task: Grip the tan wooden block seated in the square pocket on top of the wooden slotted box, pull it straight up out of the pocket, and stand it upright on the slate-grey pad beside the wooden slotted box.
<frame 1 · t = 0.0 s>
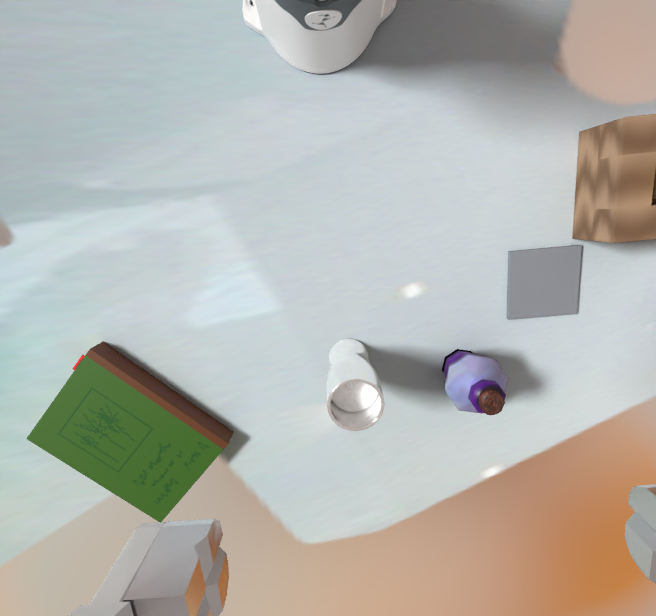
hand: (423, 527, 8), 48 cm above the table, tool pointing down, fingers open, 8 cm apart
wooden slotted box: (627, 182, 52), on the table
potion bottle: (459, 365, 58), on the table
hardcover book: (138, 425, 61), on the table
beer glass: (348, 356, 58), on the table
slate pad: (542, 282, 55), on the table
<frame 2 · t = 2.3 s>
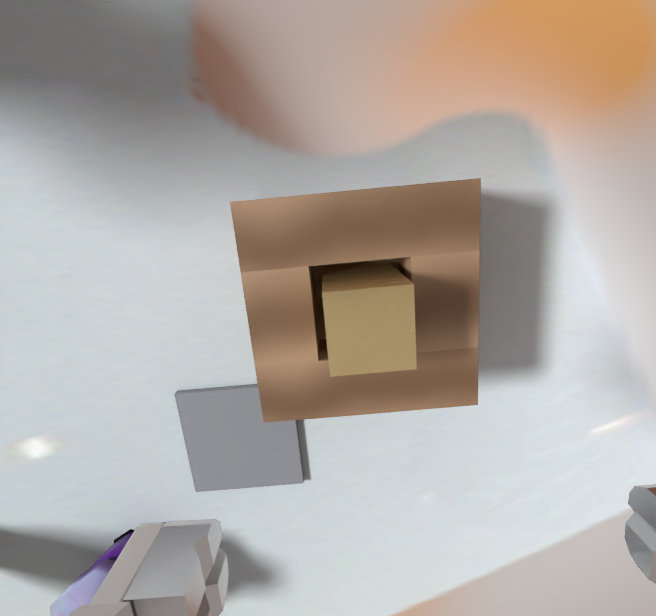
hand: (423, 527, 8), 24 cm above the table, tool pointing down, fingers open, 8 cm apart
wooden slotted box: (353, 284, 31), on the table
potion bottle: (141, 550, 38), on the table
tan wooden block: (357, 295, 27), point 4 cm above the table, touching wooden slotted box
slate pad: (242, 436, 34), on the table
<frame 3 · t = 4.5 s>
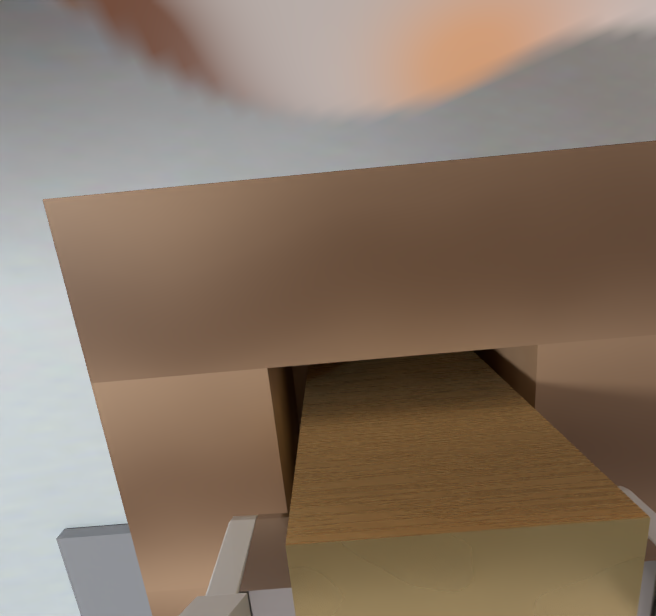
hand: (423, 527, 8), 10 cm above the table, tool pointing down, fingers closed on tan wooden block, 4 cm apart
wooden slotted box: (370, 353, 17), on the table
tan wooden block: (383, 395, 13), point 4 cm above the table, touching gripper, wooden slotted box
slate pad: (180, 598, 20), on the table
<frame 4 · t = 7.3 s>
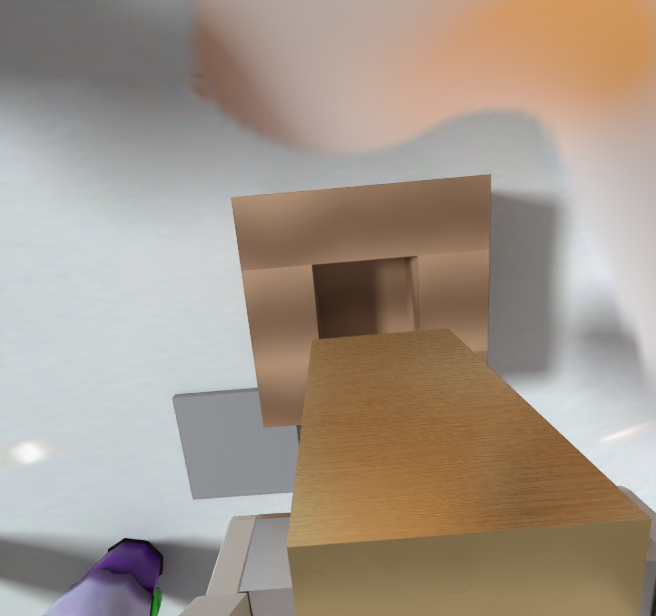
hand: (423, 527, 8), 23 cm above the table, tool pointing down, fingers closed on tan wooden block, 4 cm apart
wooden slotted box: (357, 286, 30), on the table
potion bottle: (136, 559, 36), on the table
tan wooden block: (383, 396, 13), point 17 cm above the table, touching gripper
slate pad: (241, 442, 33), on the table
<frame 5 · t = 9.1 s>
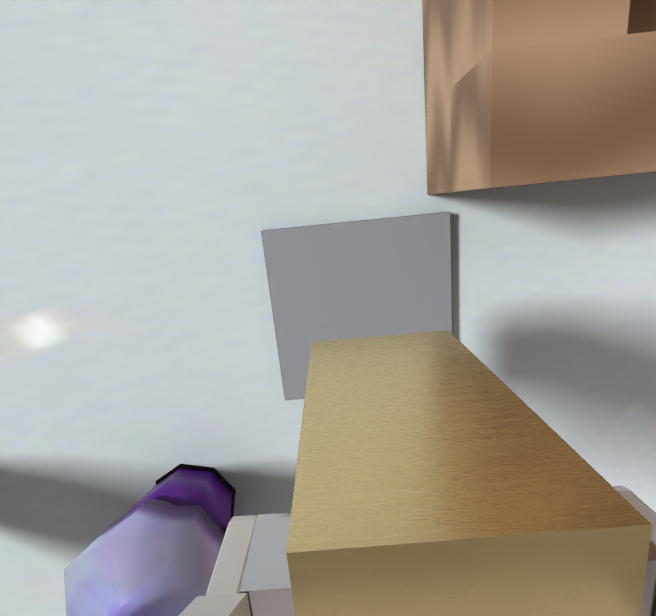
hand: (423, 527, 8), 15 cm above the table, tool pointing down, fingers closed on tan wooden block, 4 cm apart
wooden slotted box: (569, 28, 18), on the table
potion bottle: (196, 496, 25), on the table
tan wooden block: (383, 398, 13), point 9 cm above the table, touching gripper
slate pad: (361, 309, 22), on the table
when the fingers open (8 cm above the table, at t = 10.6 s): tan wooden block drops 1 cm, resting on slate pad.
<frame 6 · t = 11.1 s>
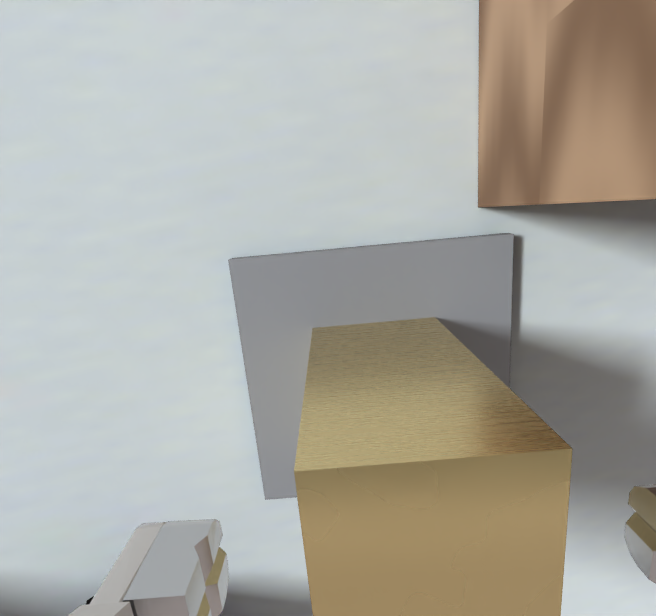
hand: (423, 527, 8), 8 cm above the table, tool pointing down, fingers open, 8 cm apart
tan wooden block: (377, 378, 14), point 1 cm above the table, touching slate pad
slate pad: (376, 372, 15), on the table
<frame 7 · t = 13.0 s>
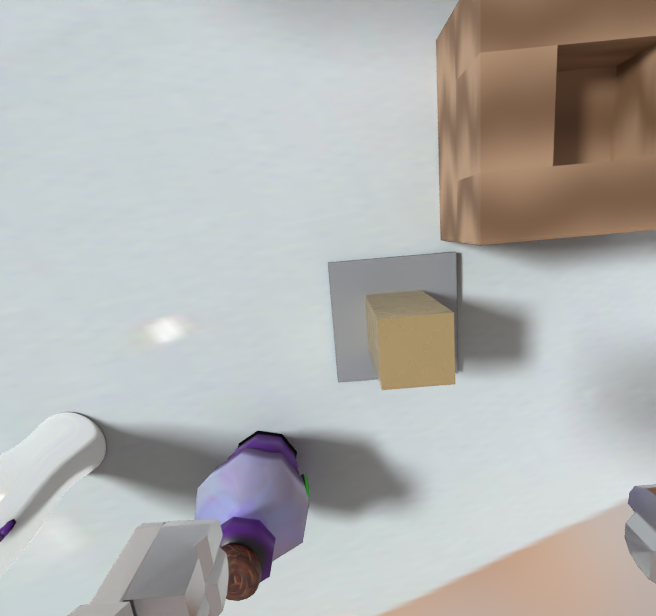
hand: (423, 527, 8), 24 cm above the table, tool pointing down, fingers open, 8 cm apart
wooden slotted box: (532, 136, 28), on the table
potion bottle: (266, 457, 34), on the table
beer glass: (74, 441, 34), on the table
tan wooden block: (394, 319, 30), point 1 cm above the table, touching slate pad
slate pad: (393, 318, 31), on the table
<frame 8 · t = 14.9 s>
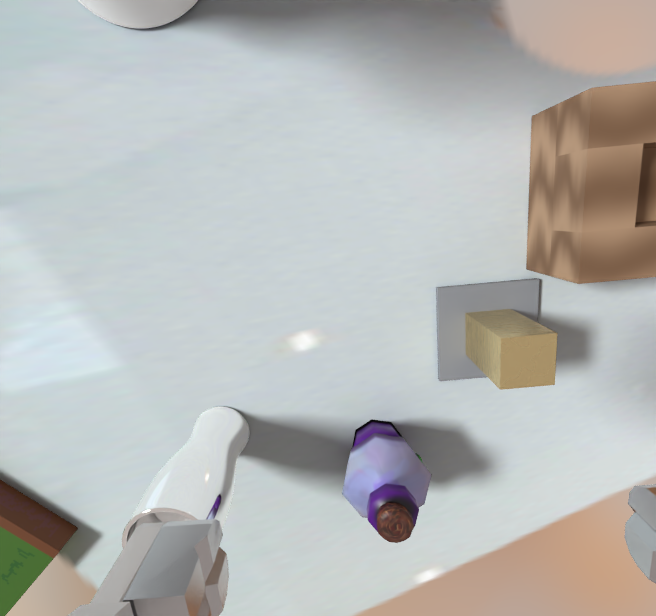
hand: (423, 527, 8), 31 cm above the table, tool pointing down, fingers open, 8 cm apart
wooden slotted box: (603, 189, 36), on the table
potion bottle: (376, 440, 42), on the table
beer glass: (222, 429, 42), on the table
tan wooden block: (487, 332, 39), point 1 cm above the table, touching slate pad
slate pad: (485, 330, 39), on the table
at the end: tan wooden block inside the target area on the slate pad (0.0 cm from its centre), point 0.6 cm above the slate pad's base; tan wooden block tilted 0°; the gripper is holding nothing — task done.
